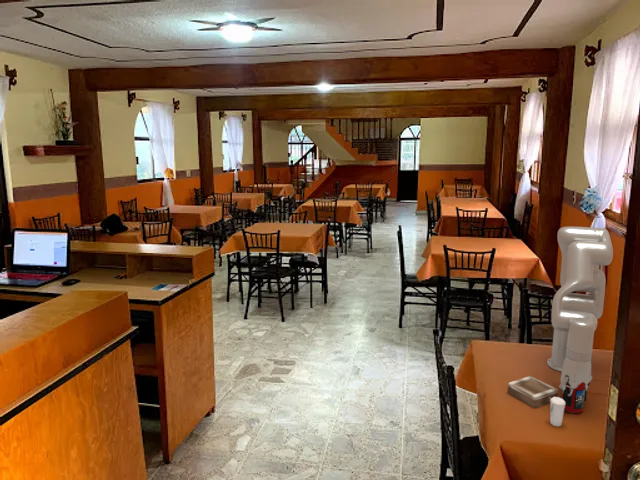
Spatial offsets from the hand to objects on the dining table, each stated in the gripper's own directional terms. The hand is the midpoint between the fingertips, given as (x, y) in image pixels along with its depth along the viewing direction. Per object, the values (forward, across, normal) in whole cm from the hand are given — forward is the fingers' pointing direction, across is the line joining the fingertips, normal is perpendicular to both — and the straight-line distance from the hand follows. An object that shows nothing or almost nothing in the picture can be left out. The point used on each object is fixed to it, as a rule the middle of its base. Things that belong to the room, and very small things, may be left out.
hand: (574, 401), depth 170 cm
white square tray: (+3, +5, -13) cm, 14 cm away
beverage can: (+3, 0, 0) cm, 3 cm away
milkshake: (+3, +13, +3) cm, 14 cm away
